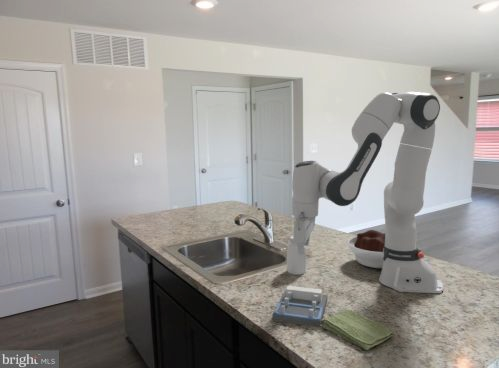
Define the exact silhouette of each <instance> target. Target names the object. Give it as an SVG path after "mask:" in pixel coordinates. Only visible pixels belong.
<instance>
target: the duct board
mask: <svg viewBox="0 0 499 368" xmlns="http://www.w3.org/2000/svg"><path fill="white" fill-rule="evenodd" d="M290 286H295V284H294V285H292V284H291V285H290ZM316 289H321V288H319V287H317V288H316ZM327 303H328V294H327V295H326V294H322V300H321V302H319V301H318V295H314V301H311V300H303V299H295V298H292V292H288V293H287V297H286V289H285V290H284V291H283V294H282V295H281V298H279V302H278V303H277V304H276V306H275V309H274V310H273V313H272V320H273V321H278V322H285V323H286V322H287V323H292V324H298V325H305V326H311V325H312V326H313V327H318V326H319V328H320V327H322V321H323V320H324V316H325V313H326V307H327ZM323 315H324V316H323ZM322 319H323V320H322Z"/></svg>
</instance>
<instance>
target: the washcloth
mask: <svg viewBox="0 0 499 368" xmlns="http://www.w3.org/2000/svg"><path fill="white" fill-rule="evenodd" d="M321 327H323V328H324V329H326V330H327V331H329V332H331V333H332V332H333V333H332V334H334V333H335V334H334V335H336V336H338V335H339V336H338V337H340V336H341V337H340V338H342V337H343V338H342V339H344V338H345V339H344V340H346V339H347V340H346V341H348V340H349V341H348V342H350V343H352V344H354V345H355V344H356V346H358V345H359V347H360V348H361V349H363V350H365V351H369V350H370V349H372V348H373V347H375V346H377V345H380V344H382V343H384V342H385V341H387V340H388V339H390V338H391V337H393V336H394V335H395V333H394V332H393V331H392V329H390V328H388V327H387V326H386V325H384V324H382V323H379V322H378V321H376V320H373V319H370V318H368V317H366V316H363V315H362V314H360V313H358V312H357V311H353V310H351V309H344V310H342V311H340V312H338V313H336V314H335V315H330V316H327V317H325V318H323V320H322V323H321Z"/></svg>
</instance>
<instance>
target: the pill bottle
mask: <svg viewBox="0 0 499 368" xmlns="http://www.w3.org/2000/svg"><path fill="white" fill-rule="evenodd" d="M286 270H287V273H288V274H290V275H295V276H298V275H299V276H300V275H304V274H305V273H306V271H307V246H304V254H303V255H301V254H298V246H297V244H294V242H293V235H292V236H290V237H289V243H287V246H286Z"/></svg>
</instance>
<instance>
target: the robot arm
mask: <svg viewBox="0 0 499 368" xmlns="http://www.w3.org/2000/svg"><path fill="white" fill-rule="evenodd" d="M440 111H441V104H440V101H439V99H438V97H437V96H435V95H434V94H431V93H428V92H418V91H417V92H415V91H407V92H392V93H390V92H380V93H378V94H377V95H376V96H375V97H374V98H373V99H372V100H370V101H369V102H368V104H367V105H366V106H365V107H364V108H363V110H362V111H361V112H360V114H359V115H358V117H357V118H356V120H355V121H354V123H353V126H352V127H351V135H352V138H353V140H354V142H355V143H356V144H357V148H356V151H355V154H354V155H353V157H352V158H351V160H350V162H349V163H348V165H347V167H346V168H345V169H344V170H343V171H340V172H338V171H335V170H332V169H329V168H326V167H325V166H323V165H322V164H320V163H318V162H317V161H316V160H304V161H301V162H298V163H296V165H295V166H294V169H293V171H292V172H293V173H292V185H291V187H292V197H291V215H292V216H294V219H295V220H294V224H293V235H292V236H293V242H294V244H297V246H298V254H301V255H303V254H304V246H306V247H308V246H309V244H310V238H311V234H312V232H313V231H314V228H315V223H316V217H318V216H319V202H320V201H319V200H320V199H321V198H322V199H326V200H327V201H330V202H331V203H333V204H335V205H336V206H339V207H346V206H347V207H348V206H349V205H351V204H353V203H354V202H356V200H357V199H358V197H359V195H360V191H361V188H362V185H363V182H364V181H365V177H366V176H367V174H368V172H369V170H370V169H371V167H372V166H373V164H374V162H375V160H376V158H377V157H378V155H379V153H380V150H381V148H382V146H383V141H384V139H385V137H386V136H387V134H388V132H389V131H390V129H391V128H392V126H393V125H394V124H399V125H402V126H403V129H404V130H403V133H402V135H401V137H400V143H399V145H398V149H397V154H396V157H395V161H394V171H393V172H394V173H393V180H392V181H391V182H389V183H387V185H385V187H384V189H383V209H384V211H383V212H384V225H385V227H384V228H385V230H384V233H385V245H384V247H383V260H384V261H383V267H382V268H381V272H380V275H379V278H378V282H380V283H381V284H382V285H383V286H386V287H388V288H391V289H393V290H394V291H396V292H399V293H417V294H418V293H423V294H425V293H426V294H441V293H443V292H442V291H444V284H443V282H442V281H441V280H440V279H438V278H437V277H438V276H437V273H436V270H435V269H434V267H433V266H432V265H431V264H430V263H429V262H427V261H426V260H424V257H425V254H424V253H423V251H422V250H421V249H420V248H419V247H417V230H418V229H417V228H418V227H417V224H416V223H417V222H416V217H415V215H416V214H418V213H419V212H420V211H421V210H422V209H423V206H424V203H425V202H424V194H425V193H424V192H425V184H426V176H427V175H426V174H427V169H428V165H429V161H430V159H431V154H432V150H433V146H434V142H435V137H436V123H435V122H436V121H437V119H438V117H439V114H440Z"/></svg>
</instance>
